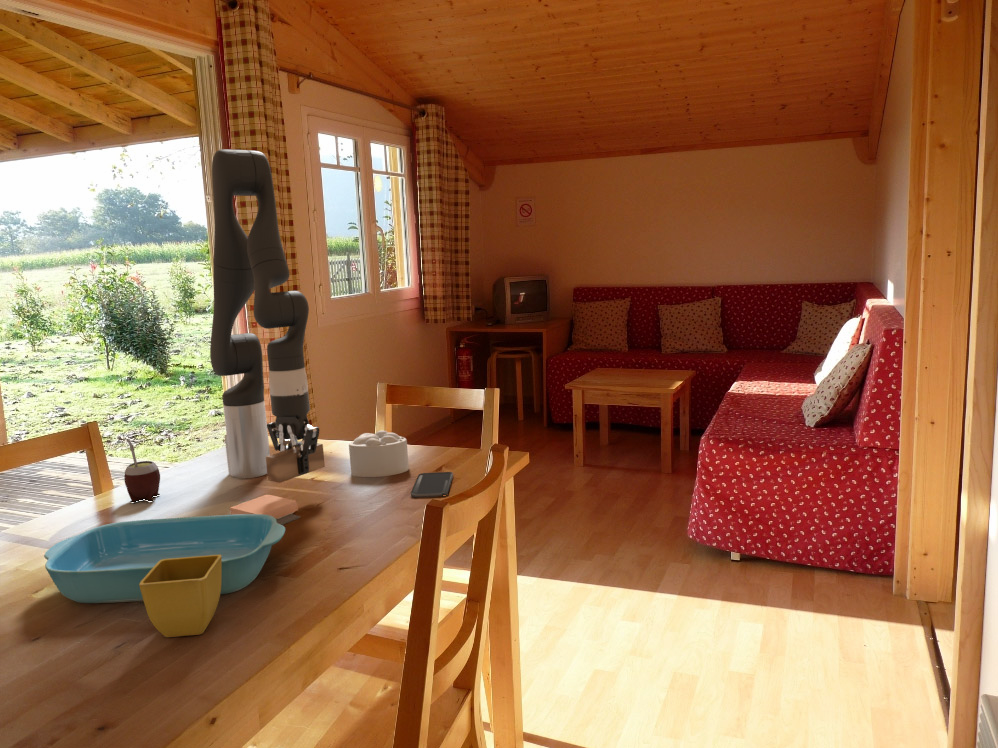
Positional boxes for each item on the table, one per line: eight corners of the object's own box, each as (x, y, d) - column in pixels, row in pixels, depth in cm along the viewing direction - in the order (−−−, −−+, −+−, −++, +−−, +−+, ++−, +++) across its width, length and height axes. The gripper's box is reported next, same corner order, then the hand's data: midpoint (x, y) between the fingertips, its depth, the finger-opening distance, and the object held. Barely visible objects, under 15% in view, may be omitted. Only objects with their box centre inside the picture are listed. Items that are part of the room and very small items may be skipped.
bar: (268, 480, 156) (265, 456, 155) (313, 464, 166) (311, 442, 165) (279, 482, 154) (277, 458, 153) (324, 466, 164) (322, 444, 163)
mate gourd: (153, 492, 173) (145, 427, 171) (170, 498, 168) (162, 431, 166) (119, 501, 168) (110, 434, 165) (136, 508, 163) (126, 439, 160)
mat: (219, 519, 153) (219, 518, 153) (254, 506, 160) (254, 505, 160) (265, 531, 145) (265, 530, 145) (300, 517, 152) (300, 516, 152)
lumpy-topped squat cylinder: (361, 464, 188) (358, 429, 187) (413, 463, 186) (411, 428, 185) (347, 477, 178) (344, 440, 176) (403, 476, 176) (400, 439, 175)
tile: (268, 504, 160) (231, 518, 153) (267, 494, 159) (230, 507, 152) (297, 511, 155) (260, 526, 148) (296, 500, 154) (259, 514, 147)
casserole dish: (299, 544, 139) (295, 506, 138) (273, 600, 117) (268, 555, 116) (87, 560, 137) (81, 521, 135) (19, 621, 115) (12, 575, 113)
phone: (409, 494, 161) (419, 473, 175) (410, 499, 161) (419, 477, 176) (447, 492, 160) (453, 471, 175) (448, 498, 161) (454, 476, 175)
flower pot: (167, 616, 113) (160, 558, 112) (229, 611, 114) (222, 553, 112) (146, 647, 105) (137, 584, 103) (212, 641, 105) (204, 578, 104)
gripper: (251, 391, 158) (259, 473, 161) (298, 396, 150) (306, 482, 153) (280, 385, 164) (288, 463, 167) (327, 389, 156) (334, 472, 159)
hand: (296, 472), depth 160 cm, fingers closed on bar, 3 cm apart
